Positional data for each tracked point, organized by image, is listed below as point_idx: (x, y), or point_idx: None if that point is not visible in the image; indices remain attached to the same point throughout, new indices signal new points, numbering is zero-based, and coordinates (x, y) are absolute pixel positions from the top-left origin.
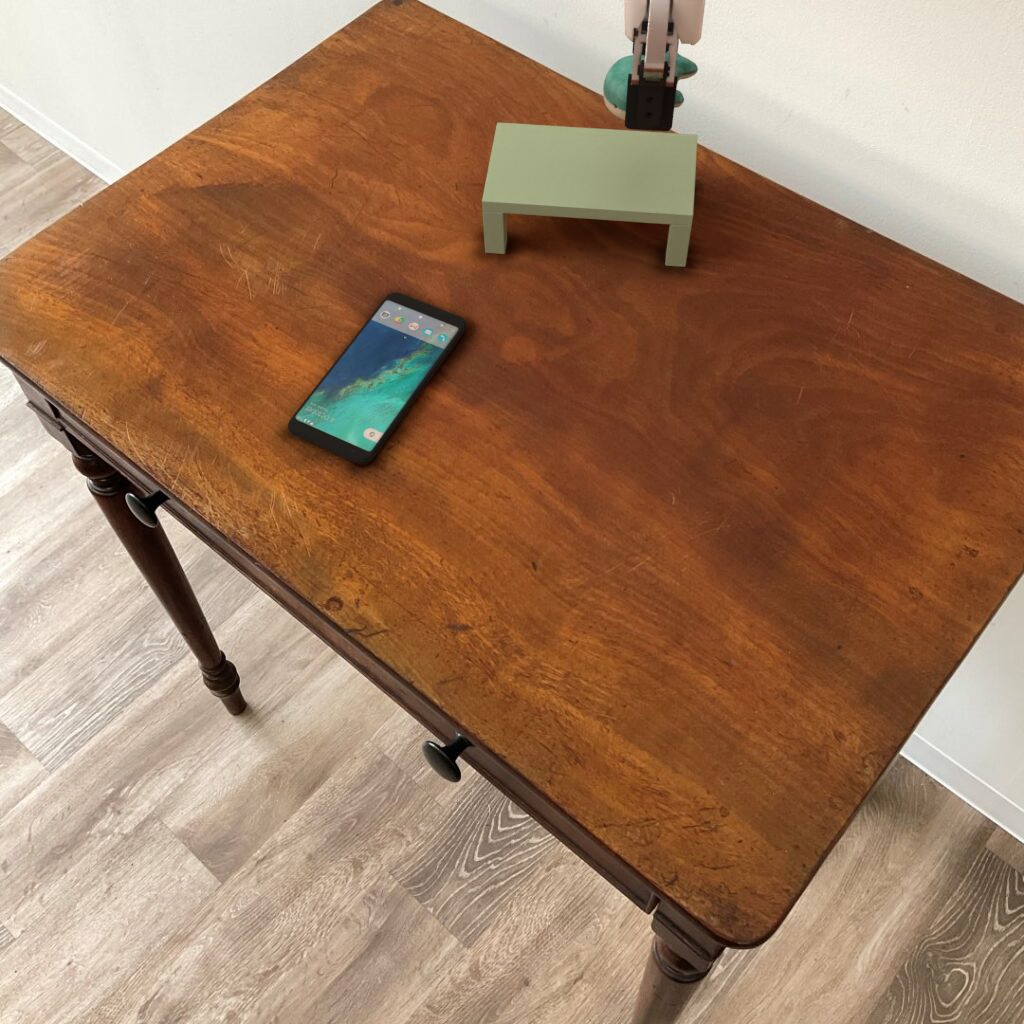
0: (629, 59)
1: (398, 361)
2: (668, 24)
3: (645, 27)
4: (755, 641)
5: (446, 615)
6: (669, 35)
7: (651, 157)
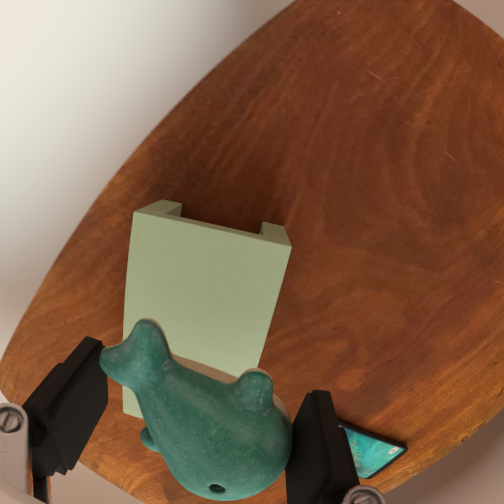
0: (208, 497)
1: None
2: (72, 409)
3: (83, 434)
4: None
5: (493, 398)
6: None
7: (173, 279)
